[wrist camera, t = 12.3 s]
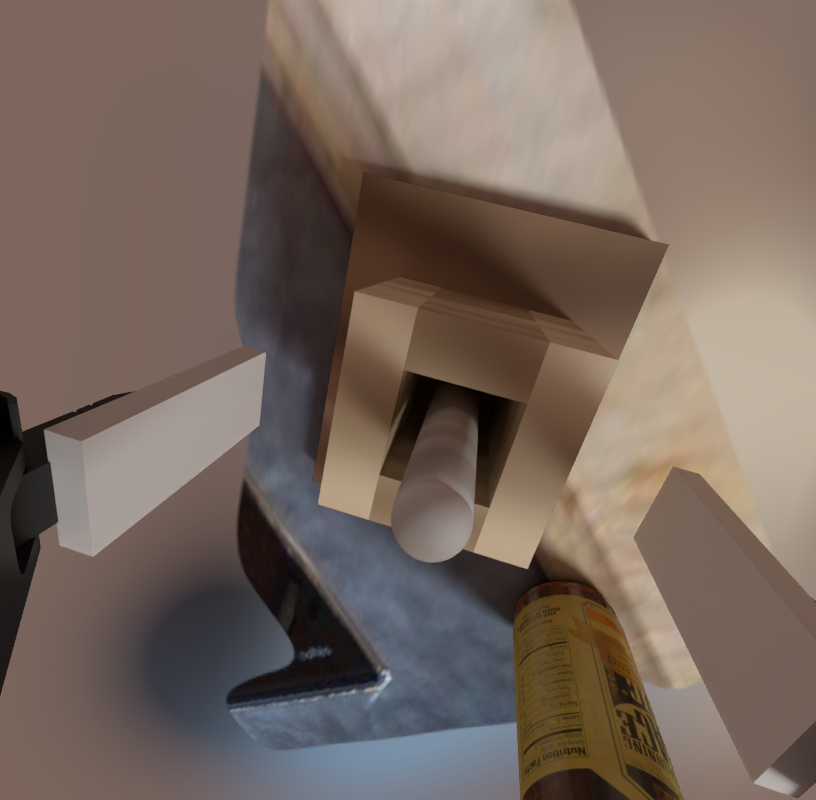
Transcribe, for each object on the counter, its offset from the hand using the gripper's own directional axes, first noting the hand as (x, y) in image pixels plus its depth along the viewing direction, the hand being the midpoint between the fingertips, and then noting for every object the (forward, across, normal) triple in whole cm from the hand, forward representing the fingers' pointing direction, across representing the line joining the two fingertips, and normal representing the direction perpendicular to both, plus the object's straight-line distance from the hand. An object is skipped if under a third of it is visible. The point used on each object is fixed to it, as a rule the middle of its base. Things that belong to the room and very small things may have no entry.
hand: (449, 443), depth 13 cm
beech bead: (+7, 0, 0) cm, 7 cm away
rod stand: (+9, 0, 0) cm, 9 cm away
